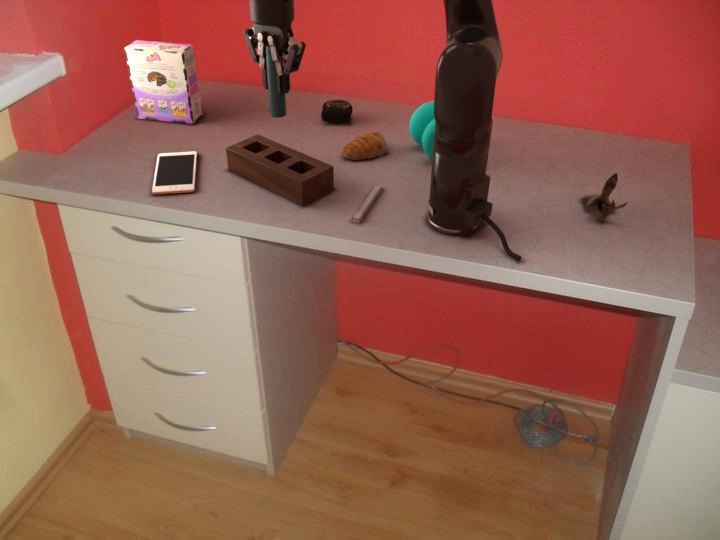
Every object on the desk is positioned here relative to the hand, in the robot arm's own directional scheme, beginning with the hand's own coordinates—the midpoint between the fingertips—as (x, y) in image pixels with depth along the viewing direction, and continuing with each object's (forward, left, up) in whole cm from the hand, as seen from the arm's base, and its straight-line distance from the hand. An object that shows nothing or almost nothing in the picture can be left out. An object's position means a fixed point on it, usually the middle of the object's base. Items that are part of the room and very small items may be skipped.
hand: (276, 90), depth 127 cm
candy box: (+40, -3, -18) cm, 44 cm away
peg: (0, 0, -5) cm, 5 cm away
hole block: (0, +1, -18) cm, 18 cm away
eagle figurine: (-52, -30, -18) cm, 63 cm away
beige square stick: (-19, -3, -18) cm, 27 cm away
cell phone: (+17, +13, -18) cm, 28 cm away
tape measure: (+10, -27, -18) cm, 34 cm away
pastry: (-5, -19, -18) cm, 27 cm away
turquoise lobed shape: (-16, -29, -18) cm, 38 cm away
